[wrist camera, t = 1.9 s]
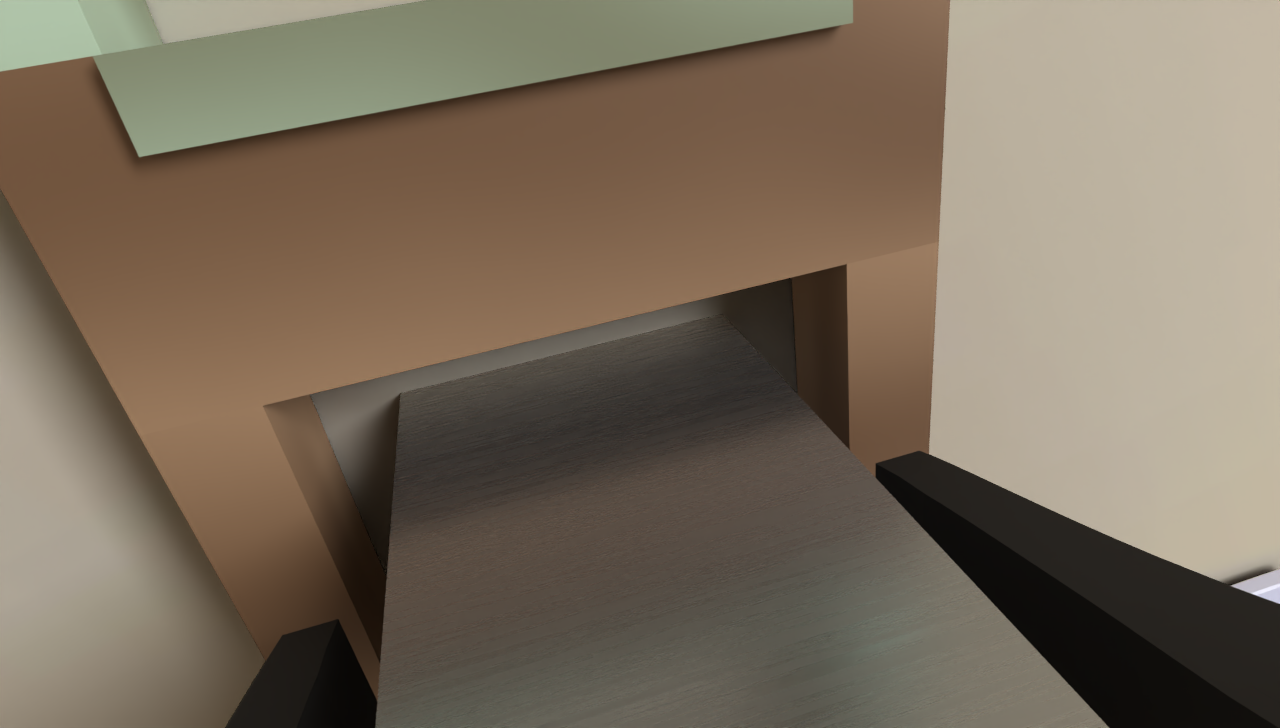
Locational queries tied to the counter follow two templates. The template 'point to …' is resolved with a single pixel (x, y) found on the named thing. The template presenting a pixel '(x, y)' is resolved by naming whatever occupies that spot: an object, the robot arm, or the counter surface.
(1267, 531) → the counter surface
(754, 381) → the block
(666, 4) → the tray
